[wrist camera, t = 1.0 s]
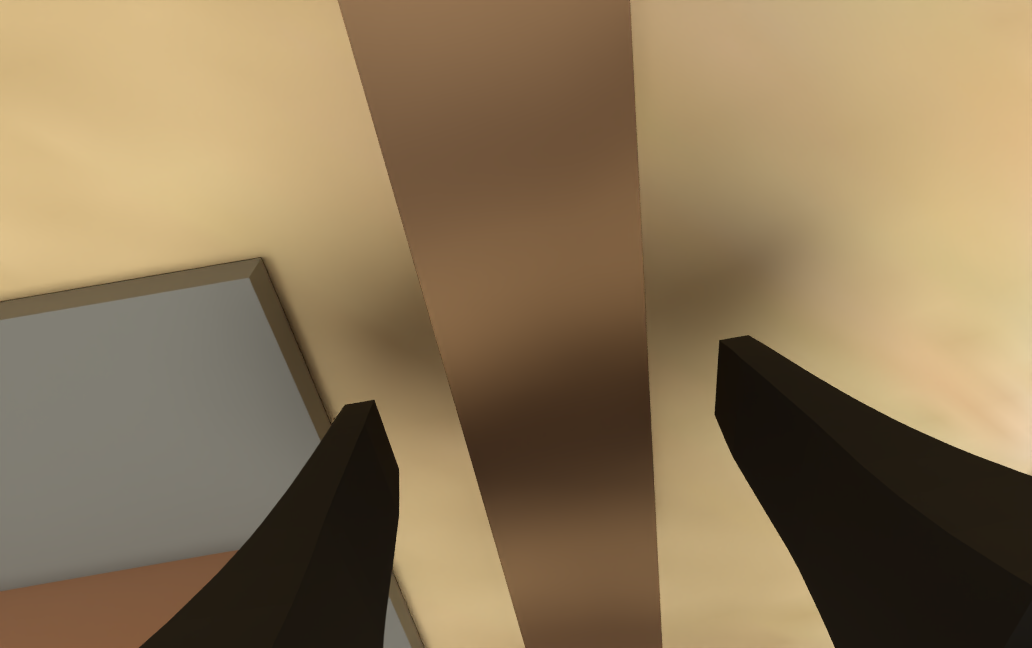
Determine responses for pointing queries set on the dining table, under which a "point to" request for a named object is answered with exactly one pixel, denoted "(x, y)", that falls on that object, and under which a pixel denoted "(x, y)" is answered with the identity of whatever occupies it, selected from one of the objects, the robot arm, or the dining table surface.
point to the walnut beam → (532, 284)
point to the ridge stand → (145, 450)
